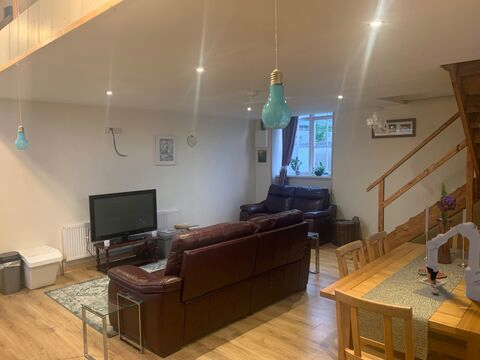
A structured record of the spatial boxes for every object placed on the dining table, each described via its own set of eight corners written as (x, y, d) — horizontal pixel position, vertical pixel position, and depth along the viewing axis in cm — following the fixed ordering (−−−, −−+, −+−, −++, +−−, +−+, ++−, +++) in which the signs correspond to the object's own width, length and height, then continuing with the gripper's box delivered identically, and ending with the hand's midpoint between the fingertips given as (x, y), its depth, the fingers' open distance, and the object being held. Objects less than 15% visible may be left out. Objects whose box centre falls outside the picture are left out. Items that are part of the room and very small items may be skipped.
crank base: (458, 296, 215) (458, 294, 215) (441, 303, 206) (441, 301, 205) (428, 287, 230) (428, 285, 230) (411, 293, 221) (411, 291, 221)
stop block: (434, 280, 237) (434, 273, 237) (436, 282, 233) (436, 275, 233) (427, 280, 238) (427, 273, 238) (429, 282, 234) (429, 275, 234)
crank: (439, 294, 215) (439, 287, 215) (432, 294, 216) (432, 286, 216) (434, 288, 226) (434, 281, 225) (427, 287, 226) (427, 280, 226)
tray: (445, 285, 234) (445, 282, 234) (435, 288, 228) (435, 285, 228) (428, 280, 243) (428, 277, 243) (419, 283, 237) (419, 280, 237)
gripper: (422, 255, 242) (422, 275, 243) (428, 261, 228) (428, 282, 229) (434, 255, 241) (434, 275, 242) (441, 262, 227) (440, 283, 228)
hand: (432, 279), depth 235 cm, fingers closed on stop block, 4 cm apart
